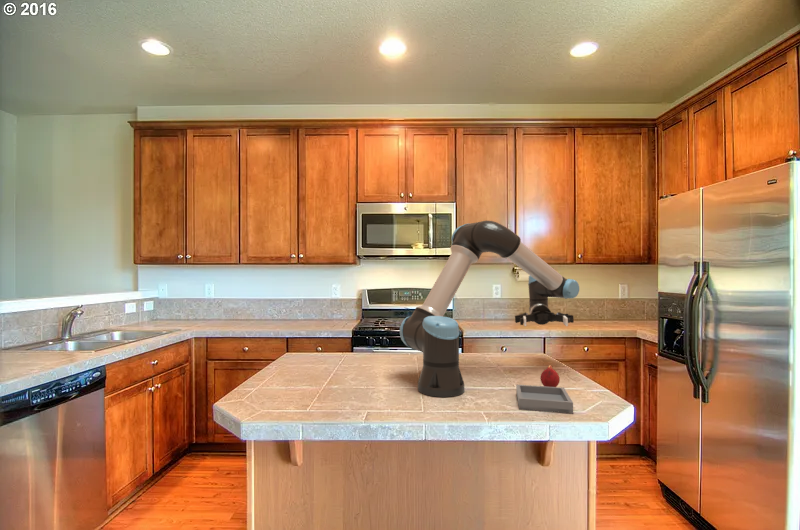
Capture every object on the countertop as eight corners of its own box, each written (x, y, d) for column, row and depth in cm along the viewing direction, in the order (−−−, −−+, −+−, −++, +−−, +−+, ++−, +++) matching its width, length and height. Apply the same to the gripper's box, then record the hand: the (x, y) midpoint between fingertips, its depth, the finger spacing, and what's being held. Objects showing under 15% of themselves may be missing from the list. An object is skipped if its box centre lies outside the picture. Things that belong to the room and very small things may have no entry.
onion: (557, 394, 120) (557, 368, 120) (538, 391, 123) (538, 366, 123) (561, 389, 125) (560, 364, 125) (542, 386, 128) (542, 362, 128)
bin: (573, 413, 103) (573, 402, 103) (519, 409, 107) (519, 398, 107) (564, 397, 117) (563, 387, 117) (516, 394, 120) (516, 384, 120)
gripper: (574, 323, 150) (585, 333, 130) (509, 323, 157) (509, 333, 137) (574, 304, 150) (584, 311, 130) (508, 305, 157) (508, 312, 137)
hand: (545, 322), depth 133 cm, fingers open, 13 cm apart
